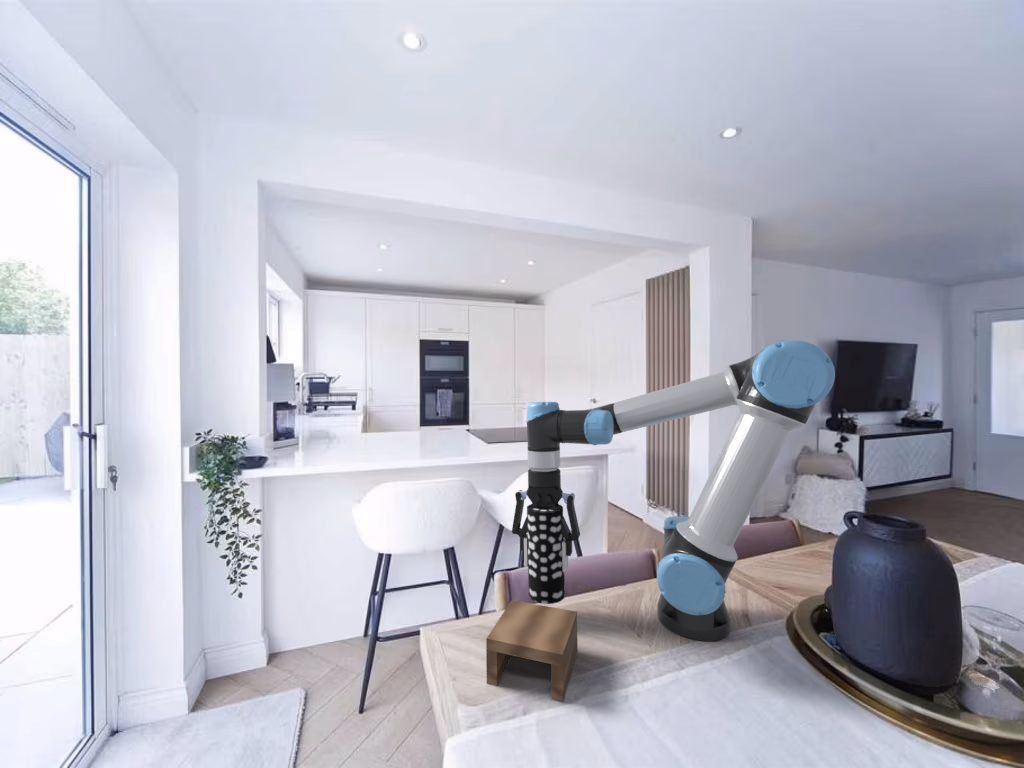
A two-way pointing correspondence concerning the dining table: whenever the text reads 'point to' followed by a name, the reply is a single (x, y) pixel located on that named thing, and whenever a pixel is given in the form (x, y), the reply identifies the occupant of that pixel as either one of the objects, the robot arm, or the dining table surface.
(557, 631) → the wooden bridge block
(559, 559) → the spotted tube
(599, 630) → the dining table surface
